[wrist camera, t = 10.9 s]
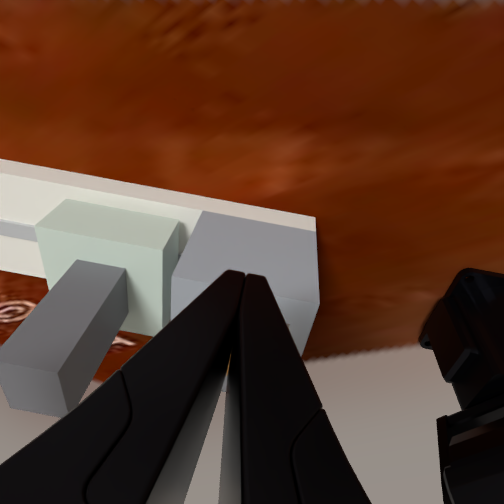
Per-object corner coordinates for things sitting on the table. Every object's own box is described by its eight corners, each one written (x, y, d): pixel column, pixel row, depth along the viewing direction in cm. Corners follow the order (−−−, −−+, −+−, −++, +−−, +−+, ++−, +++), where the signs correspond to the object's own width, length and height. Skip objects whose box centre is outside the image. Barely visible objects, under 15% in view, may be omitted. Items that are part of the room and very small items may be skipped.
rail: (315, 217, 20) (319, 304, 15) (289, 308, 24) (285, 403, 19) (-143, 132, 21) (-313, 185, 15) (-93, 235, 25) (-212, 308, 19)
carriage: (179, 219, 19) (104, 355, 12) (176, 303, 23) (116, 447, 15) (66, 198, 19) (-77, 320, 12) (80, 285, 23) (-23, 419, 15)
